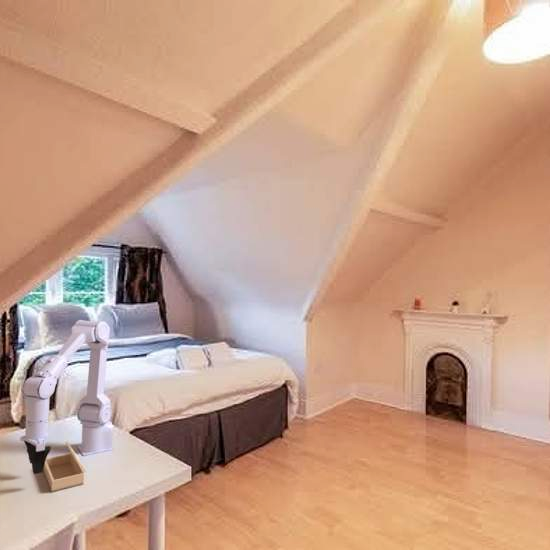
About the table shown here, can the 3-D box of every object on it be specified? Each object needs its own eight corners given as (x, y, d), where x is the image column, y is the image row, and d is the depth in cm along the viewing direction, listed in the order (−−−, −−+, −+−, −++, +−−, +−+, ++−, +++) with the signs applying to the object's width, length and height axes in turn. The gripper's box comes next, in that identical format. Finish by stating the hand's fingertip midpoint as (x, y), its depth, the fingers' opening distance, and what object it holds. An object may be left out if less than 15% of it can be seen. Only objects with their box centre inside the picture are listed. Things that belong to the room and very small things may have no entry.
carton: (71, 462, 132) (72, 453, 132) (83, 484, 119) (83, 473, 119) (42, 469, 127) (43, 459, 127) (51, 492, 114) (52, 481, 114)
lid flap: (73, 453, 131) (74, 451, 132) (84, 472, 119) (86, 471, 119) (65, 442, 130) (67, 441, 130) (76, 460, 118) (78, 459, 118)
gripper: (18, 414, 122) (16, 461, 122) (23, 430, 110) (22, 481, 110) (45, 410, 126) (44, 455, 126) (53, 425, 115) (52, 474, 115)
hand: (36, 467), depth 119 cm, fingers open, 7 cm apart
